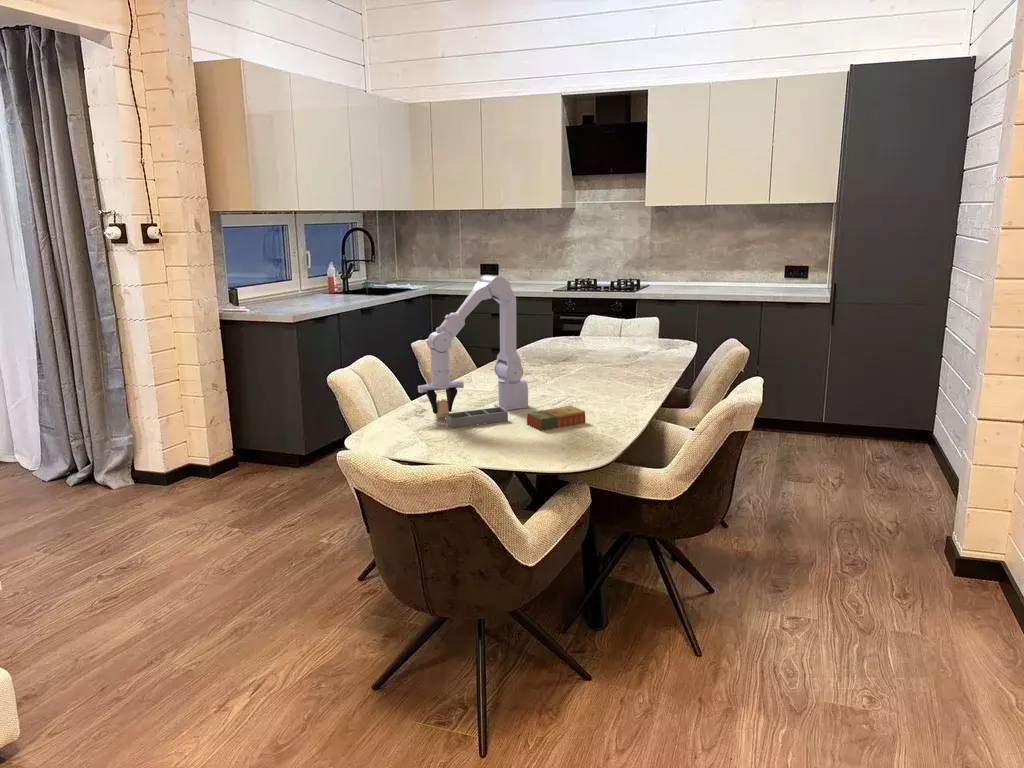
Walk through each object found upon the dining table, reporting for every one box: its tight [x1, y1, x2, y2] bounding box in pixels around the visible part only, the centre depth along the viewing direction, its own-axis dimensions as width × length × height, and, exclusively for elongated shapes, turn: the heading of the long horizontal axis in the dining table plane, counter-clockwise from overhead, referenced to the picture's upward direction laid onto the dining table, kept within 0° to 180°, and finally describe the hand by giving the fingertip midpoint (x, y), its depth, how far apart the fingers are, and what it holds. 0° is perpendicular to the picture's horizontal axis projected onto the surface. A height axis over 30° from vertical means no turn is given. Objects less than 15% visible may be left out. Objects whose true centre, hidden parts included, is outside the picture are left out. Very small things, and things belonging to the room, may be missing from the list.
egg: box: [435, 398, 450, 420], centre depth 237 cm, size 4×4×6 cm
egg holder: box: [445, 406, 509, 429], centre depth 231 cm, size 18×6×3 cm, turn 113°
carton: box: [526, 405, 586, 432], centre depth 227 cm, size 8×16×4 cm, turn 119°
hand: (442, 412), depth 237 cm, fingers closed on egg, 4 cm apart
